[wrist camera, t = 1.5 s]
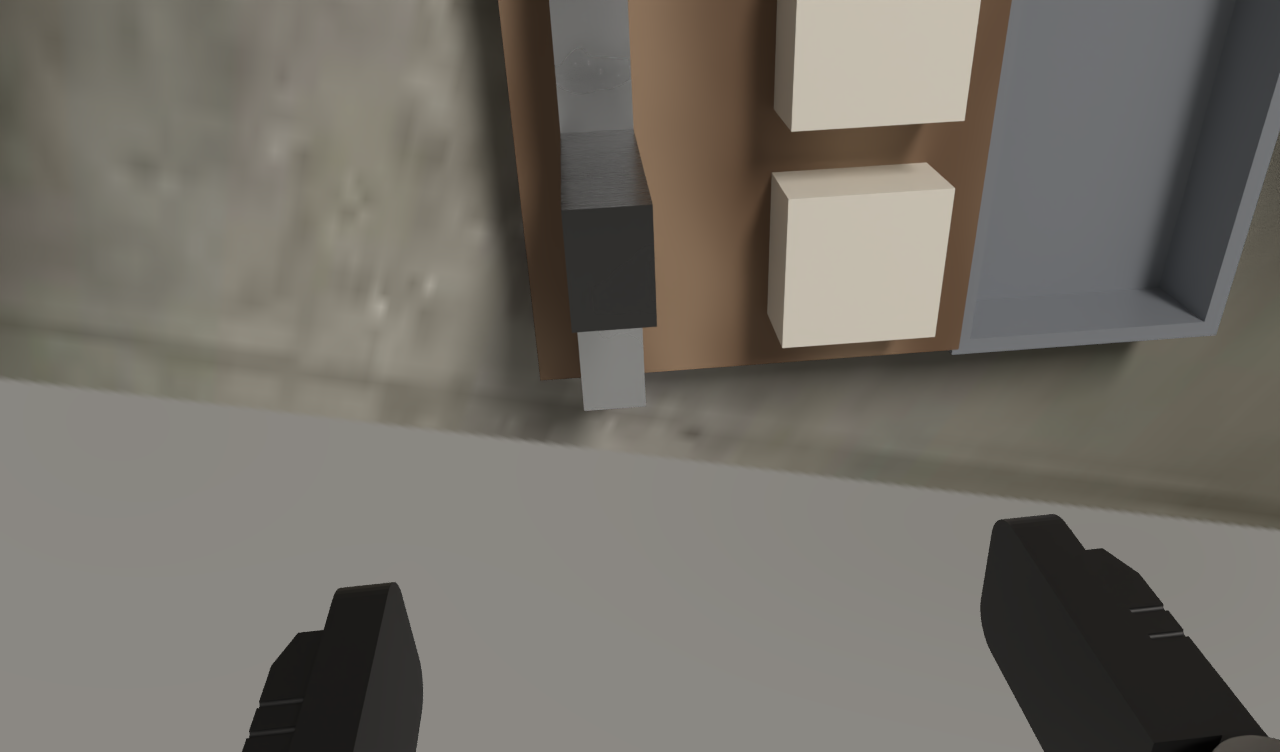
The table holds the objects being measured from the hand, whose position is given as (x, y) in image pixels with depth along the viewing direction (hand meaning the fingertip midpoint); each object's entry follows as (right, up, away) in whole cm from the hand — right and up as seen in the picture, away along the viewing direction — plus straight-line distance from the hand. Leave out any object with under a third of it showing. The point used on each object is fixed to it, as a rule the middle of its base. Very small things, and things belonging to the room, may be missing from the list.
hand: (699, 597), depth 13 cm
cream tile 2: (+6, +7, +18) cm, 21 cm away
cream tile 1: (+6, +14, +15) cm, 21 cm away
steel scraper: (-2, +10, +16) cm, 19 cm away
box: (+15, +13, +20) cm, 29 cm away
